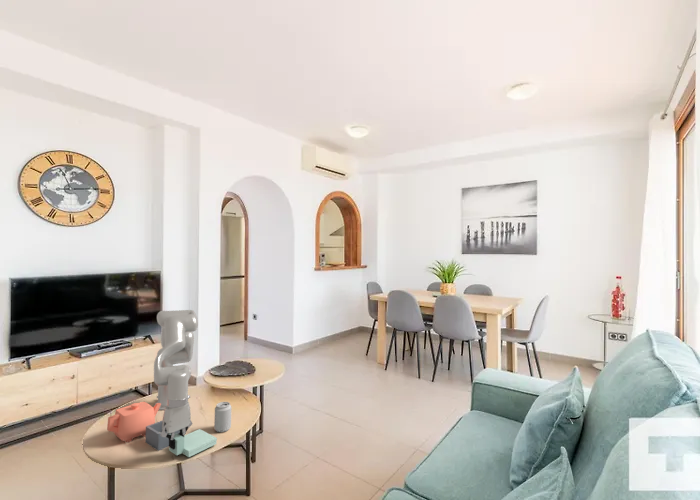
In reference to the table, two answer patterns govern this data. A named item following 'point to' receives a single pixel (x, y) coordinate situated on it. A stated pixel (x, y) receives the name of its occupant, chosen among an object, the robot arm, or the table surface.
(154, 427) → the tub
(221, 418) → the can
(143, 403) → the teapot
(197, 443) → the mint green stepped block
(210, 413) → the table surface
